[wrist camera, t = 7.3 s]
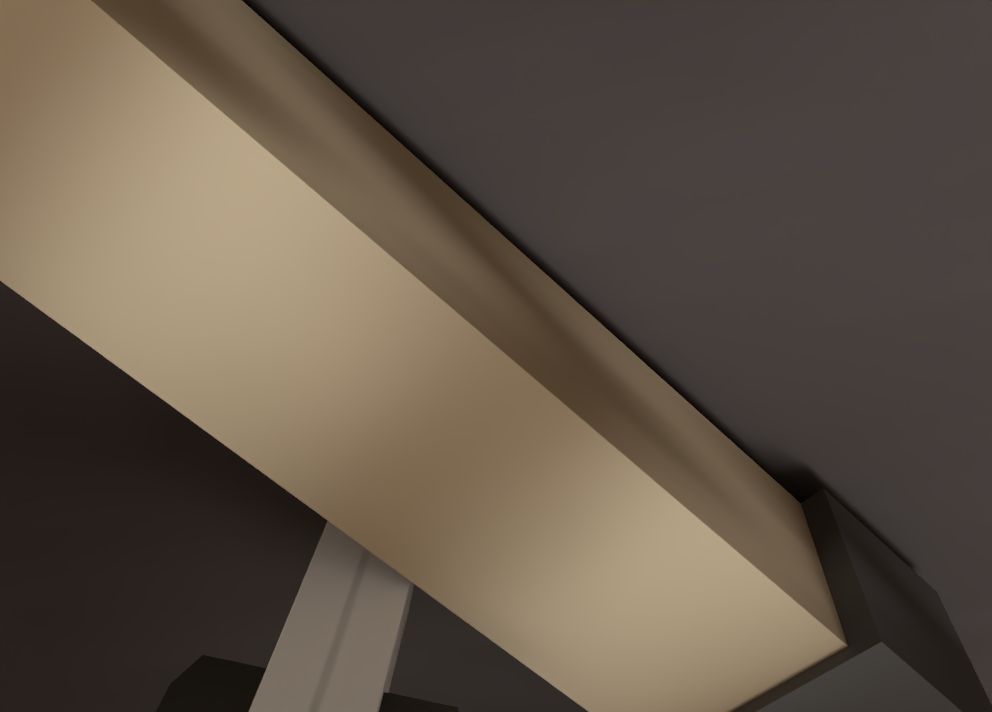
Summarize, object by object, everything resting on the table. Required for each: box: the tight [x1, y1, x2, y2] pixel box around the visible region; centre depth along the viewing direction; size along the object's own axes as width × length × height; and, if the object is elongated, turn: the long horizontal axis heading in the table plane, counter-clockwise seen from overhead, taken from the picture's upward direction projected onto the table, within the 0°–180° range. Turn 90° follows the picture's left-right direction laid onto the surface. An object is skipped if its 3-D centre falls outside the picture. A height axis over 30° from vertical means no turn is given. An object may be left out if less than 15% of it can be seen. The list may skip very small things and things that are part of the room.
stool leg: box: [0, 0, 992, 712], centre depth 11 cm, size 20×5×4 cm, turn 48°
